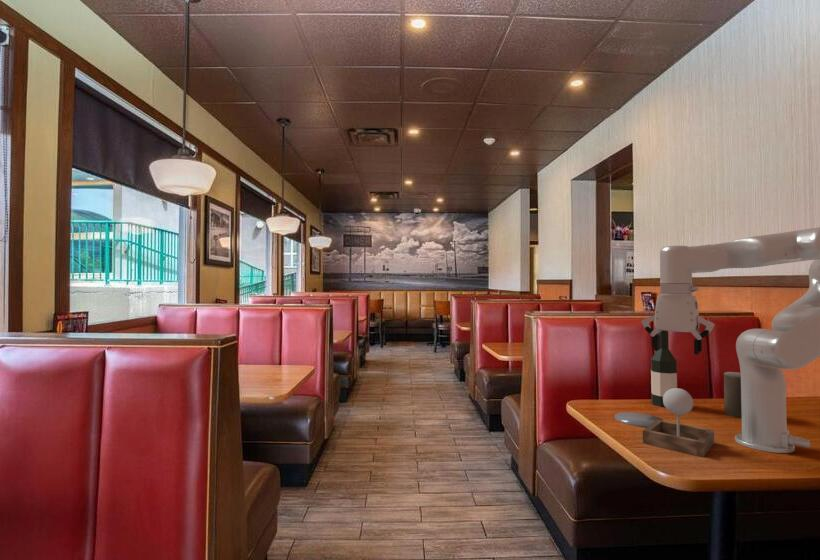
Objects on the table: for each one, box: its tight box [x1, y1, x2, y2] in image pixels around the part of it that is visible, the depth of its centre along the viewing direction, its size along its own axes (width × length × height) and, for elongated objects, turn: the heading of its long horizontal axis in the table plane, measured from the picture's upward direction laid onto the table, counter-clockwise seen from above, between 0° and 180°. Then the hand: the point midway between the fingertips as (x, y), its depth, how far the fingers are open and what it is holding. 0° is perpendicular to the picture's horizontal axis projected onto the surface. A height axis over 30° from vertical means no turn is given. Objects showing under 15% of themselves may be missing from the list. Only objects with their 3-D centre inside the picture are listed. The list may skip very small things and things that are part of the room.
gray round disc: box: [614, 411, 663, 428], centre depth 138 cm, size 14×14×1 cm
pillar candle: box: [723, 371, 742, 419], centre depth 144 cm, size 10×10×15 cm
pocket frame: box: [642, 419, 715, 458], centre depth 118 cm, size 14×14×4 cm
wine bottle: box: [650, 330, 678, 408], centre depth 156 cm, size 8×8×30 cm
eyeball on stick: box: [663, 387, 694, 436], centre depth 118 cm, size 7×7×15 cm
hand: (676, 352), depth 118 cm, fingers open, 9 cm apart
